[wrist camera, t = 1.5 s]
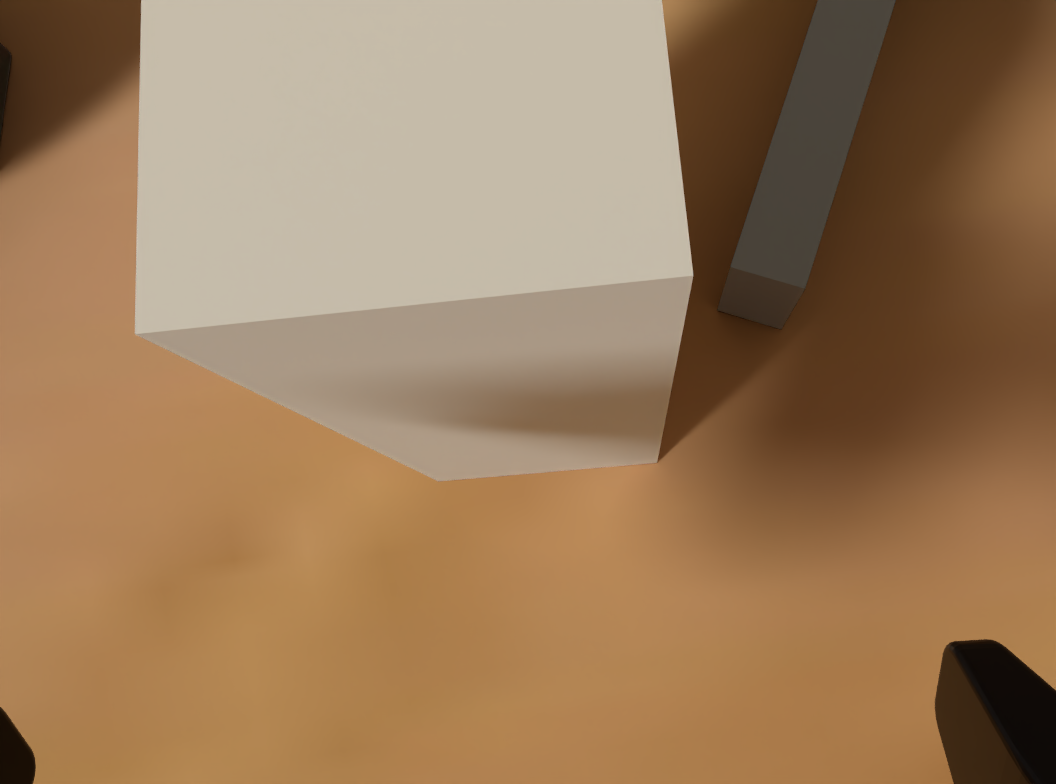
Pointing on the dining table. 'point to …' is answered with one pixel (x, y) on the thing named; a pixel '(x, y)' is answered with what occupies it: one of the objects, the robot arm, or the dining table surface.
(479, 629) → the dining table surface
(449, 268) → the post
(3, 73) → the lantern
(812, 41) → the frame
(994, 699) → the robot arm
